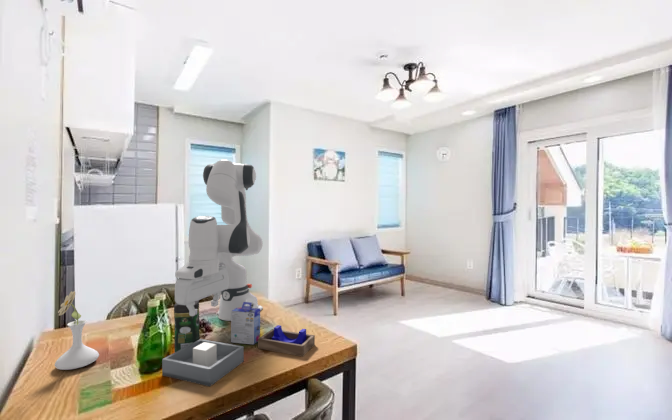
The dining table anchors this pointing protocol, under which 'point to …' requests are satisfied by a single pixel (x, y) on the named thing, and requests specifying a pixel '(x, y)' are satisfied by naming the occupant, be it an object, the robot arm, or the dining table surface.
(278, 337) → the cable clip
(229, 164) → the robot arm
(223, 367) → the tray
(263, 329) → the dining table surface
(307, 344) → the organizer
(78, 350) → the flower in vase
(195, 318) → the coffee jar
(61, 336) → the dining table surface
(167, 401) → the dining table surface
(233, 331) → the ink cartridge box
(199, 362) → the block
